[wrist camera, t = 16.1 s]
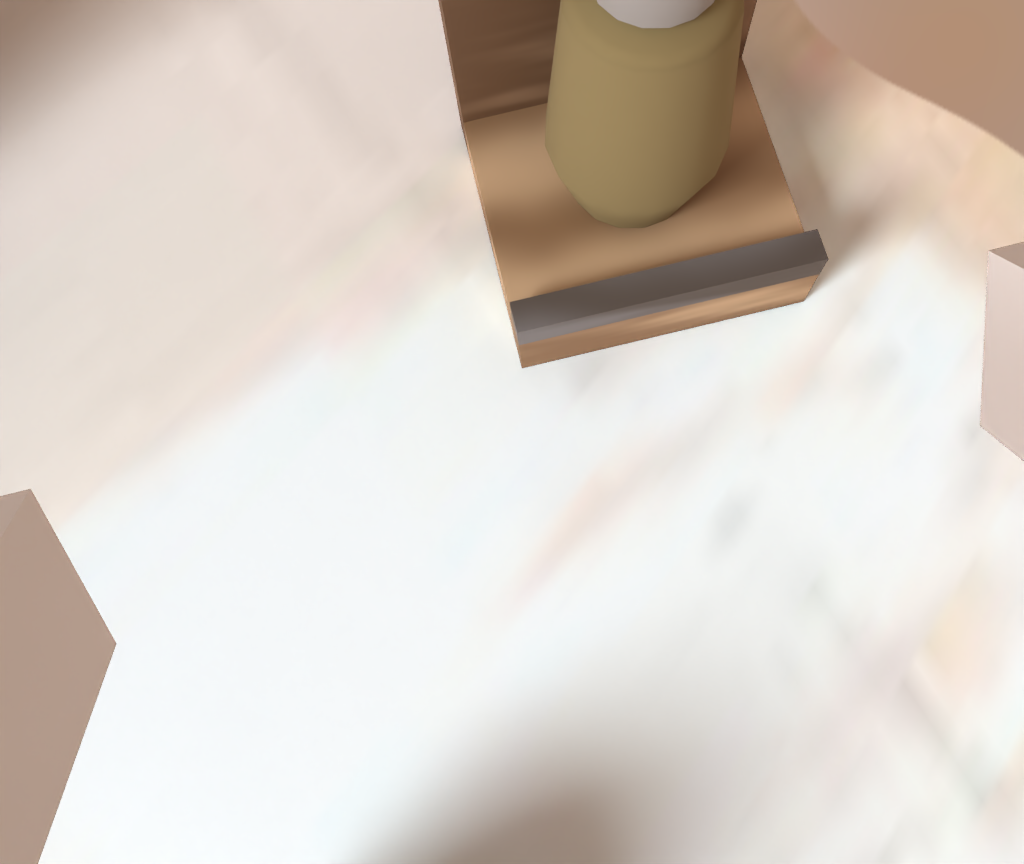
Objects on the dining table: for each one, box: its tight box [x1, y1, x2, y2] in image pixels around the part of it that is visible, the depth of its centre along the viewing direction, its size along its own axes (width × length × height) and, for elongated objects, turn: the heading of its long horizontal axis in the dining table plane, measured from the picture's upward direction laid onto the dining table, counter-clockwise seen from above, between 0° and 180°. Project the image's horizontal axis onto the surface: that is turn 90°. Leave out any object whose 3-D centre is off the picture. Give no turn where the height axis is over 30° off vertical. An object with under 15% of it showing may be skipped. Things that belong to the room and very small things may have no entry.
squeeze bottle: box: [545, 0, 744, 228], centre depth 36 cm, size 8×8×18 cm
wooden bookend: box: [438, 0, 828, 368], centre depth 35 cm, size 14×14×26 cm
